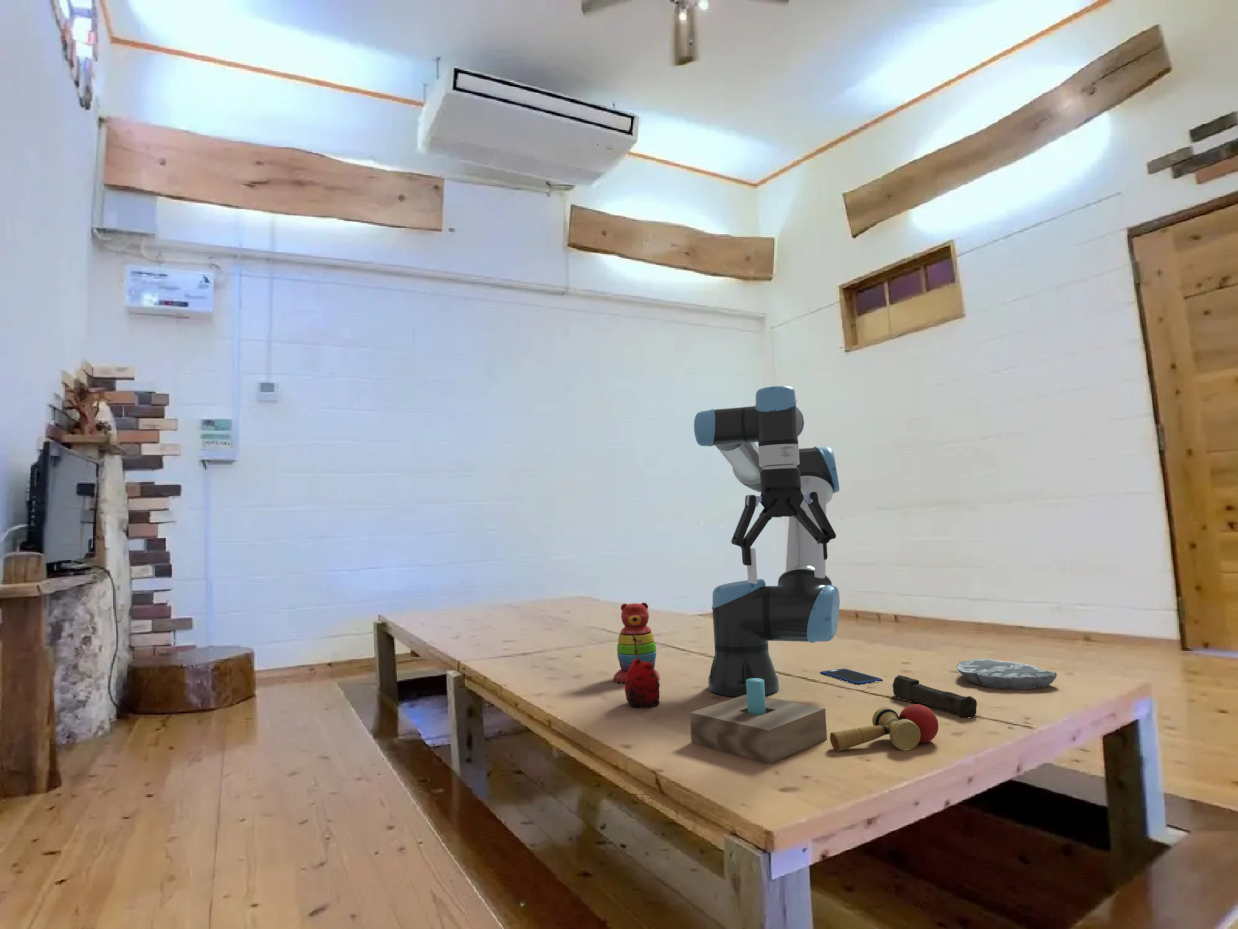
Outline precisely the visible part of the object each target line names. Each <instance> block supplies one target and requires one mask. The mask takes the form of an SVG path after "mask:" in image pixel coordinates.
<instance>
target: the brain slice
mask: <svg viewBox="0 0 1238 929" xmlns="http://www.w3.org/2000/svg"><path fill="white" fill-rule="evenodd" d="M955 667H956V670H957V671H958V672H959V674H961V676H964V677H965V678H966V679H967V680H969V681H970V682H971V683H973V684H977V685H984V686H985V687H988V688H996V689H1012V690H1031V689H1030V688H1033V689H1035V688H1034V687H1044V688H1046V687H1049V685H1051V684H1053V682H1054V681H1055V680H1056V678H1057V676H1058V674H1057V672H1055V671H1051V670H1046V669H1041V668H1039V667H1037V666H1034V665H1032V664H1026V663H1022V662H1014V661H1004V660H998V659H989V658H980V659H977V658H976V659H970V660H964V661H963V660H962V661H959V662H958V663H957V665H956V666H955Z"/></svg>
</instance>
